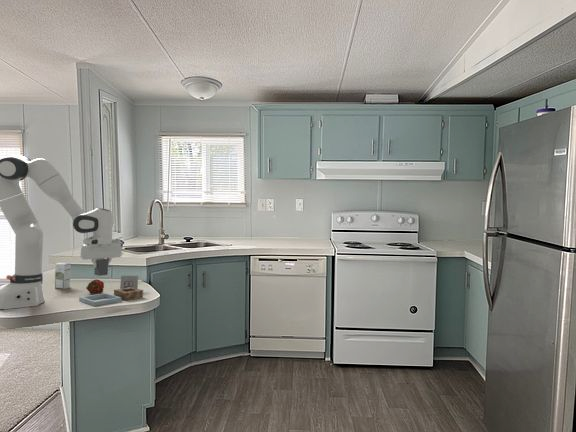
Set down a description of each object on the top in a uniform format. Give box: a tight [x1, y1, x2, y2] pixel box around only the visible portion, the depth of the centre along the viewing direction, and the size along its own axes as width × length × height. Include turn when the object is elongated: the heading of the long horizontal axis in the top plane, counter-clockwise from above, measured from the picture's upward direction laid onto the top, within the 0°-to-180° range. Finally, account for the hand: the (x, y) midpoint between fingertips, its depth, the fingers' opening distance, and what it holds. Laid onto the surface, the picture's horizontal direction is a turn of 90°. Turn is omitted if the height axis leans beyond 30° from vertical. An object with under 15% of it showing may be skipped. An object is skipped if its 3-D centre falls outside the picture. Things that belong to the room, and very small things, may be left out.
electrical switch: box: [119, 275, 139, 289], centre depth 232 cm, size 9×5×9 cm, turn 102°
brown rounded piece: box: [85, 278, 105, 295], centre depth 223 cm, size 8×8×12 cm
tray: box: [78, 292, 122, 307], centre depth 207 cm, size 14×14×2 cm
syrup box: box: [54, 261, 71, 290], centre depth 233 cm, size 6×6×14 cm
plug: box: [93, 258, 109, 277], centre depth 207 cm, size 4×4×8 cm
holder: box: [113, 287, 144, 301], centre depth 218 cm, size 10×10×4 cm
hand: (101, 267), depth 207 cm, fingers closed on plug, 4 cm apart
